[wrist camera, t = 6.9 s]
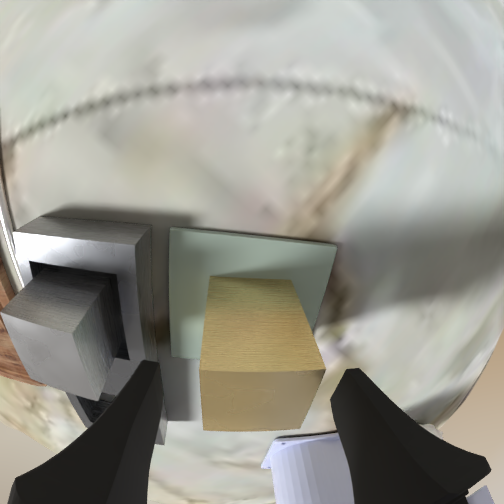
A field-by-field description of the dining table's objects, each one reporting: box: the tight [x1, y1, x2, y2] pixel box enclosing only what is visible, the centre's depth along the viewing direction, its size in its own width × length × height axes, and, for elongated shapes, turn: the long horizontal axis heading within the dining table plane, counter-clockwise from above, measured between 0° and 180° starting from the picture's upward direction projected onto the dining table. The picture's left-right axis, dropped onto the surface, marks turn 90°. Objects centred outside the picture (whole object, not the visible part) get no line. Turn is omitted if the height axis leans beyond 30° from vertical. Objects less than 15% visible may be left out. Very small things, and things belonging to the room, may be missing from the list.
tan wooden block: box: [199, 276, 326, 431], centre depth 11 cm, size 4×4×6 cm
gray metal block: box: [0, 264, 125, 401], centre depth 11 cm, size 4×4×6 cm
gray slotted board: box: [13, 216, 168, 445], centre depth 14 cm, size 7×17×2 cm, turn 172°
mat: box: [169, 227, 338, 360], centre depth 14 cm, size 8×8×1 cm
